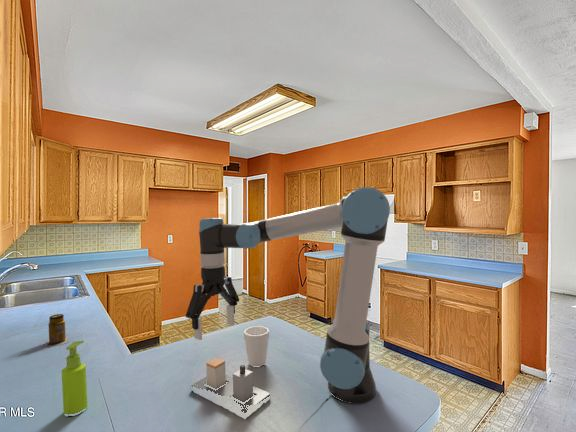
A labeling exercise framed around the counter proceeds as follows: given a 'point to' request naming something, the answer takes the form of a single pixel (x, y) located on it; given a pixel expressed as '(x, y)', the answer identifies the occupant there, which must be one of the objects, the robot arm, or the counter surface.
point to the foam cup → (256, 344)
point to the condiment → (56, 330)
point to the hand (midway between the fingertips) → (215, 331)
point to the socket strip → (228, 391)
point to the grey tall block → (243, 384)
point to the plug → (216, 373)
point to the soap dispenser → (74, 382)
